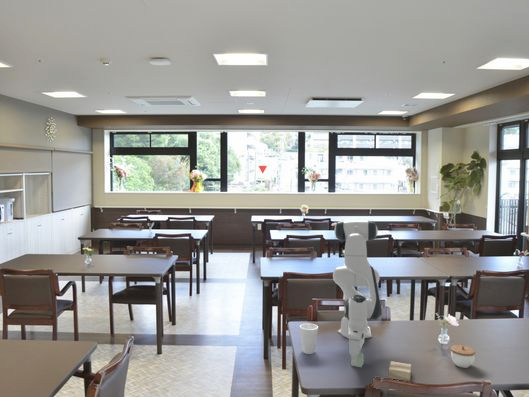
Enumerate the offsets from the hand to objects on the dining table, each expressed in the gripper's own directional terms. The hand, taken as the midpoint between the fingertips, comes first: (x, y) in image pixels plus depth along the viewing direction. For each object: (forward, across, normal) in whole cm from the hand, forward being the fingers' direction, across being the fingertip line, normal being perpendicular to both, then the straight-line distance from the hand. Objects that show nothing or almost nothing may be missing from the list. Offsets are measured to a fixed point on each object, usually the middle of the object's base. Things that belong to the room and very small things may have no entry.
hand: (356, 358), depth 208 cm
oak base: (+3, +3, +20) cm, 21 cm away
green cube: (+3, -1, 0) cm, 3 cm away
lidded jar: (+3, -20, +47) cm, 51 cm away
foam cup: (+3, -6, -26) cm, 27 cm away
